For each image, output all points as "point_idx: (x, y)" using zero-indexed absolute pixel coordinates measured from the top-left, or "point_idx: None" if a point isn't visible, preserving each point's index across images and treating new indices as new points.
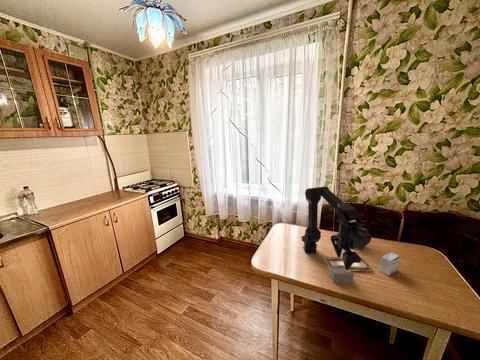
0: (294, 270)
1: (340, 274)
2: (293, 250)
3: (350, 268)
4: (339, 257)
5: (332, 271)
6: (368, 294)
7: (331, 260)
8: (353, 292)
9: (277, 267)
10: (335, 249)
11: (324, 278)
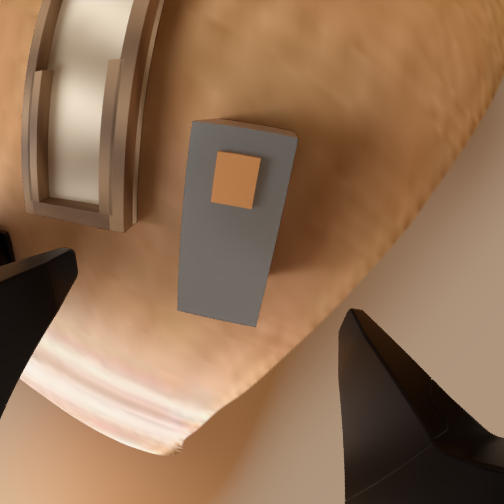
0: (158, 395)
1: (268, 272)
2: None
3: (139, 66)
4: (74, 257)
5: (221, 316)
6: (421, 106)
7: (48, 173)
8: (384, 198)
9: (148, 424)
10: (13, 385)
11: None
